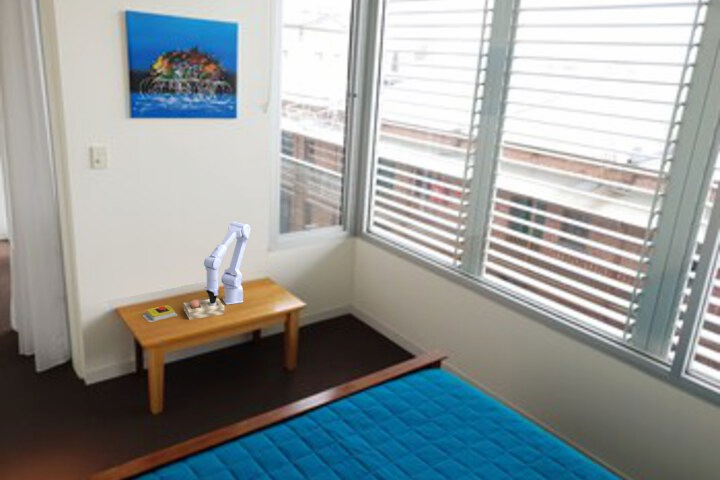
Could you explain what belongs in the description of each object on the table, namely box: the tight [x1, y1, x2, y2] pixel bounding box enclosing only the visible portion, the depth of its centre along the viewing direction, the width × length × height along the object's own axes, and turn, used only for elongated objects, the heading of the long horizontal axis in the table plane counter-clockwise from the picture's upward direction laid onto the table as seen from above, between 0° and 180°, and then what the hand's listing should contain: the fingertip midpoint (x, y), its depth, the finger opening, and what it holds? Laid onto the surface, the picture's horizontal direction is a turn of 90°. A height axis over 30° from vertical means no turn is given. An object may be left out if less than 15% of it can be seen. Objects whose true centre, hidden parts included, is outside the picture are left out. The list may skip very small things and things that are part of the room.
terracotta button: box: [190, 298, 200, 309], centre depth 291 cm, size 4×4×4 cm
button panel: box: [183, 297, 226, 320], centre depth 294 cm, size 18×12×4 cm, turn 119°
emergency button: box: [142, 304, 178, 323], centre depth 287 cm, size 9×4×15 cm
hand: (212, 303), depth 295 cm, fingers closed, pressing on grey button
